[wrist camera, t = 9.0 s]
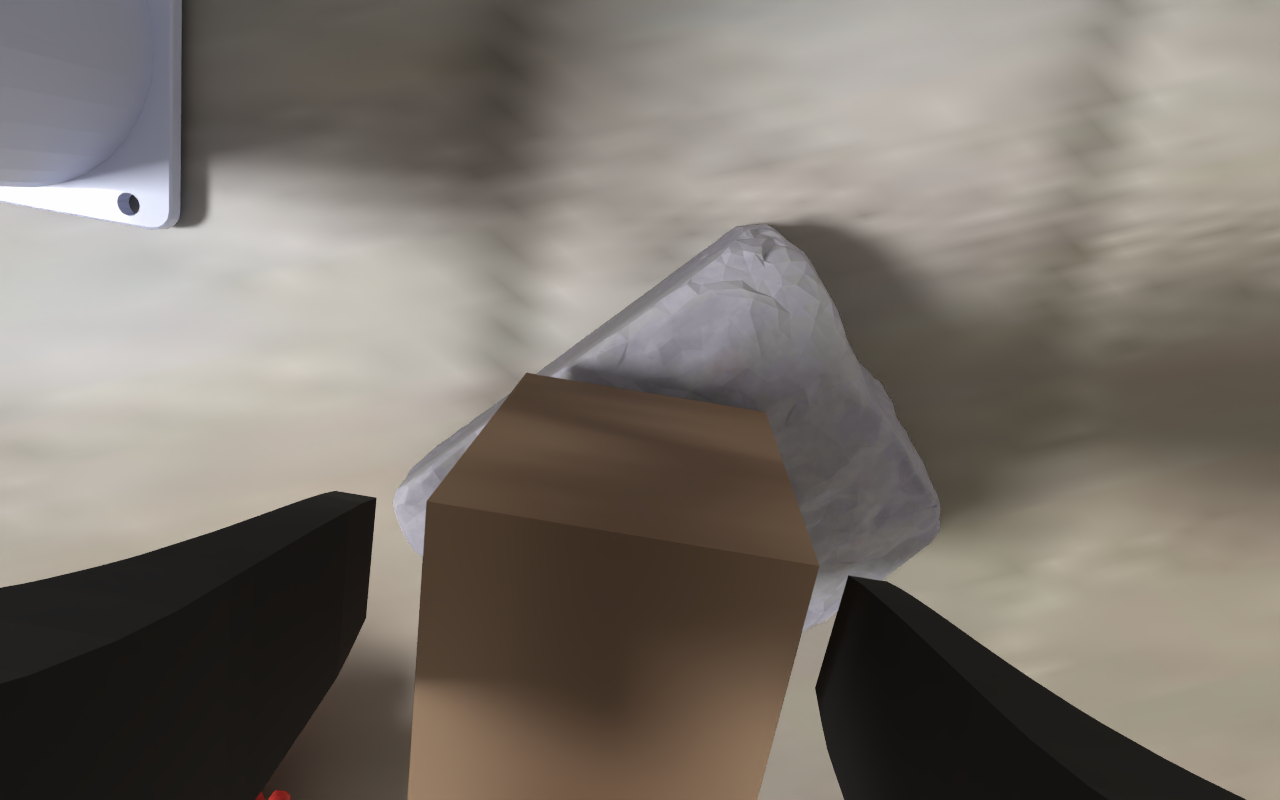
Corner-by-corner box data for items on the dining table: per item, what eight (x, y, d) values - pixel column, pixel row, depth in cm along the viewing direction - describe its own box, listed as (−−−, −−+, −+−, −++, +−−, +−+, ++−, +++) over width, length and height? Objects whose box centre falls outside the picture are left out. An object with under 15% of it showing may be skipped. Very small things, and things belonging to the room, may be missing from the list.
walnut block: (504, 580, 16) (407, 803, 10) (526, 372, 15) (426, 501, 9) (720, 616, 16) (741, 859, 10) (765, 412, 15) (819, 565, 9)
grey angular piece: (920, 447, 21) (740, 175, 17) (1009, 546, 17) (798, 215, 13) (610, 646, 24) (388, 447, 20) (619, 777, 19) (338, 557, 15)
